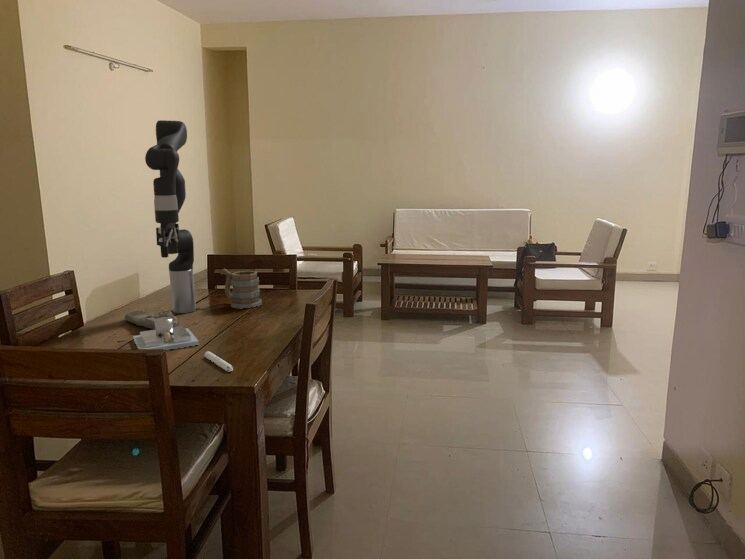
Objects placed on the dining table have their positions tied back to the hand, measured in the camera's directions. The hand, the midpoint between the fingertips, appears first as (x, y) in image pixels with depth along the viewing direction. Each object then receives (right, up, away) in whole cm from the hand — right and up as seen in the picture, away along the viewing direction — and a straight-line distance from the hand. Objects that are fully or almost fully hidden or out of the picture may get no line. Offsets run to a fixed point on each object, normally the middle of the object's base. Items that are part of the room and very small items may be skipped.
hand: (169, 255), depth 192 cm
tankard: (+14, -19, +45) cm, 51 cm away
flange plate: (+1, -28, -8) cm, 29 cm away
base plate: (+1, -30, -8) cm, 31 cm away
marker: (+26, -34, -29) cm, 52 cm away
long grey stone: (-11, -25, +12) cm, 30 cm away
